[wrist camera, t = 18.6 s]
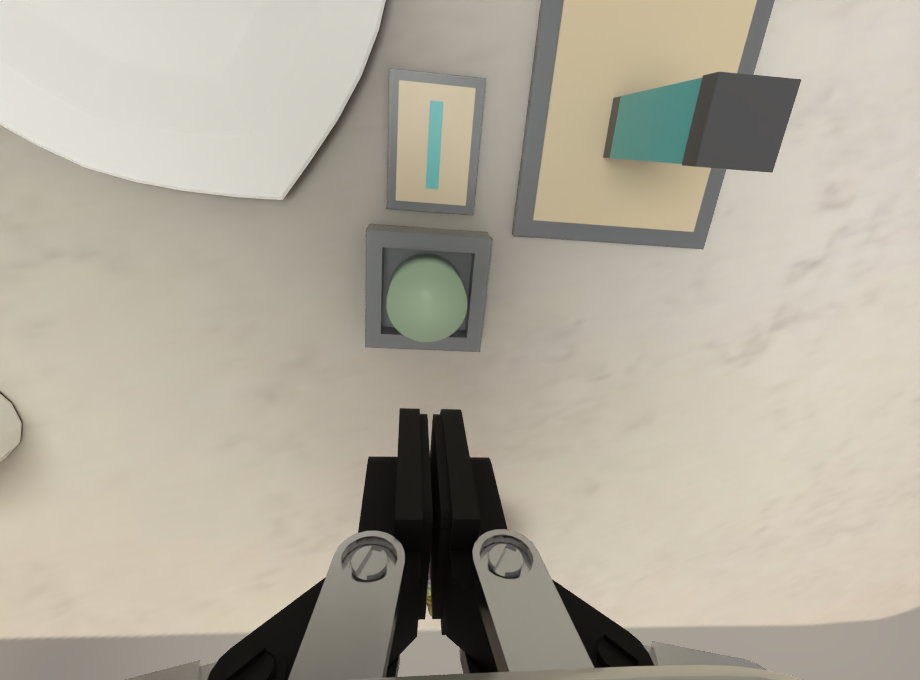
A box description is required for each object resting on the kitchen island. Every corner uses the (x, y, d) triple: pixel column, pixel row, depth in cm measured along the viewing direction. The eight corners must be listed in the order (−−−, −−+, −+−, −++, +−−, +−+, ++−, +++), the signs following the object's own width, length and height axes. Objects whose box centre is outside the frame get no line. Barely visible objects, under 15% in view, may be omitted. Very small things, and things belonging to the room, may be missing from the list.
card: (390, 69, 24) (389, 67, 24) (484, 79, 25) (486, 77, 24) (387, 207, 27) (386, 209, 26) (472, 213, 27) (473, 215, 27)
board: (561, -165, 21) (569, -181, 20) (802, -124, 22) (822, -138, 21) (511, 233, 28) (515, 237, 27) (698, 247, 29) (708, 251, 28)
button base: (369, 224, 27) (365, 229, 25) (487, 232, 28) (492, 238, 26) (368, 334, 30) (365, 347, 28) (476, 339, 31) (480, 352, 29)
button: (390, 251, 27) (387, 263, 24) (465, 256, 27) (470, 268, 25) (388, 322, 28) (385, 340, 26) (459, 326, 29) (463, 344, 26)
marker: (612, 96, 25) (719, 71, 16) (667, 101, 25) (801, 79, 16) (601, 158, 26) (695, 166, 17) (654, 162, 26) (772, 172, 18)
